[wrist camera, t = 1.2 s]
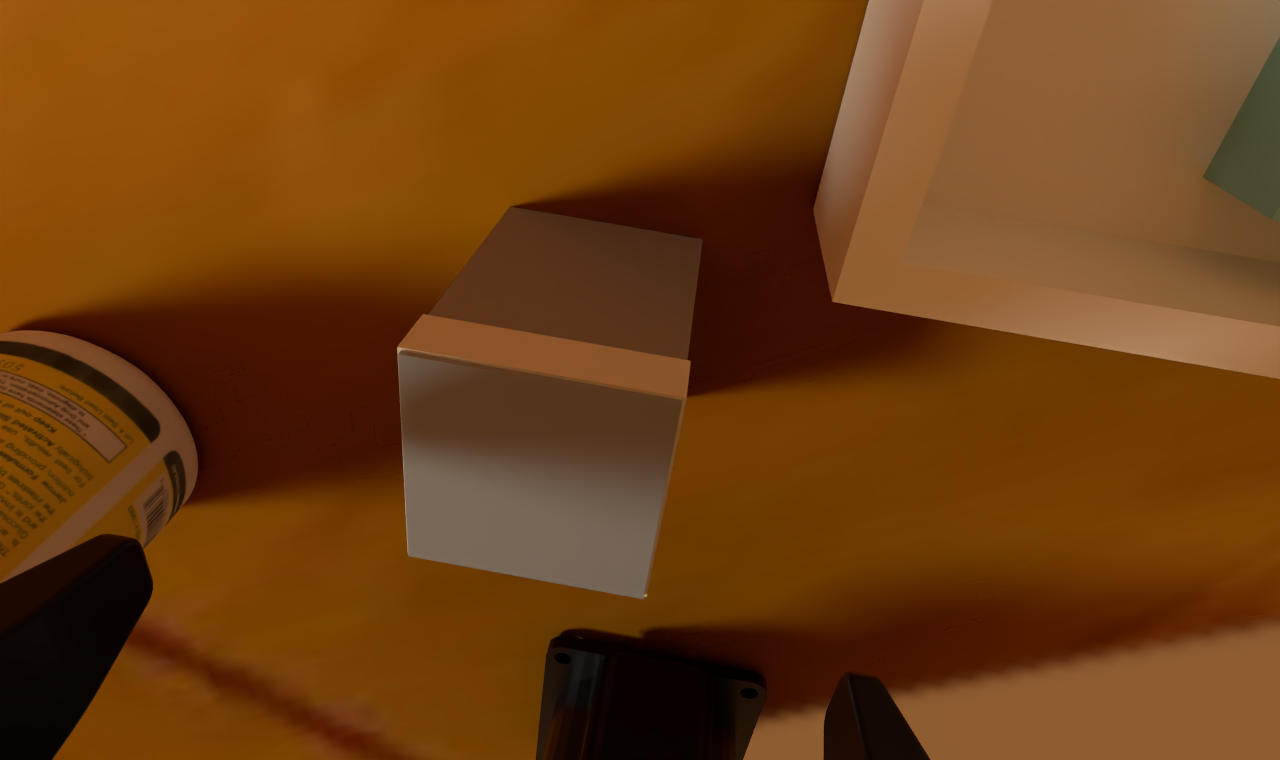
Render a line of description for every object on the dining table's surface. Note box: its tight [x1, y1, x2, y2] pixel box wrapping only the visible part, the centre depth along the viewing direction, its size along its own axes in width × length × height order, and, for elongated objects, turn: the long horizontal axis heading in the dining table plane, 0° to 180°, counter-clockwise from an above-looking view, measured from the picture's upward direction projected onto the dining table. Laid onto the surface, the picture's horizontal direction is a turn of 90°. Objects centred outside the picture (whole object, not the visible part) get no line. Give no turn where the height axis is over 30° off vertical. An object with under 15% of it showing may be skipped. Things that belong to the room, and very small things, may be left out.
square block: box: [397, 206, 703, 599], centre depth 14 cm, size 4×4×6 cm
